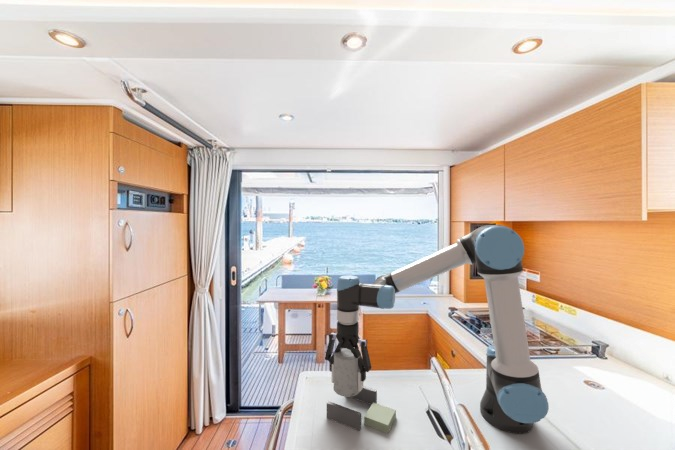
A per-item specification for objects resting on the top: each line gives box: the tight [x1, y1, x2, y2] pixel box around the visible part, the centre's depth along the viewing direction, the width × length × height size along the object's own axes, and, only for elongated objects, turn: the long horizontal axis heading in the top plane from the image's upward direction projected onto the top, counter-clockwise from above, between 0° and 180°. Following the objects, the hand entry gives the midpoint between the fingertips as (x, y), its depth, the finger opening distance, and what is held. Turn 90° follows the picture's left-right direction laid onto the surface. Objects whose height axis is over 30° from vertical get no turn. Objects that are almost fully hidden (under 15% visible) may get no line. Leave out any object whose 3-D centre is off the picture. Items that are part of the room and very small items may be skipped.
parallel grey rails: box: [326, 385, 378, 432], centre depth 98 cm, size 12×15×5 cm
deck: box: [363, 402, 397, 434], centre depth 93 cm, size 8×8×2 cm
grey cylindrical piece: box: [333, 348, 362, 398], centre depth 98 cm, size 10×10×12 cm
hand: (347, 384), depth 98 cm, fingers closed on grey cylindrical piece, 9 cm apart
